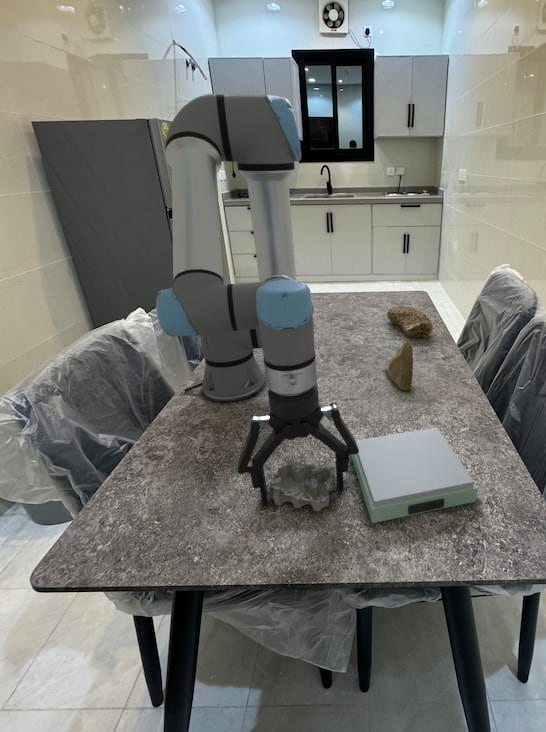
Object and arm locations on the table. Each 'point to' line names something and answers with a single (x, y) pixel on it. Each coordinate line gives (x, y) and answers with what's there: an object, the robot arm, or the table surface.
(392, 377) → the rock
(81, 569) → the table surface
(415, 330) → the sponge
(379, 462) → the scale
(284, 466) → the egg carton
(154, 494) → the table surface
